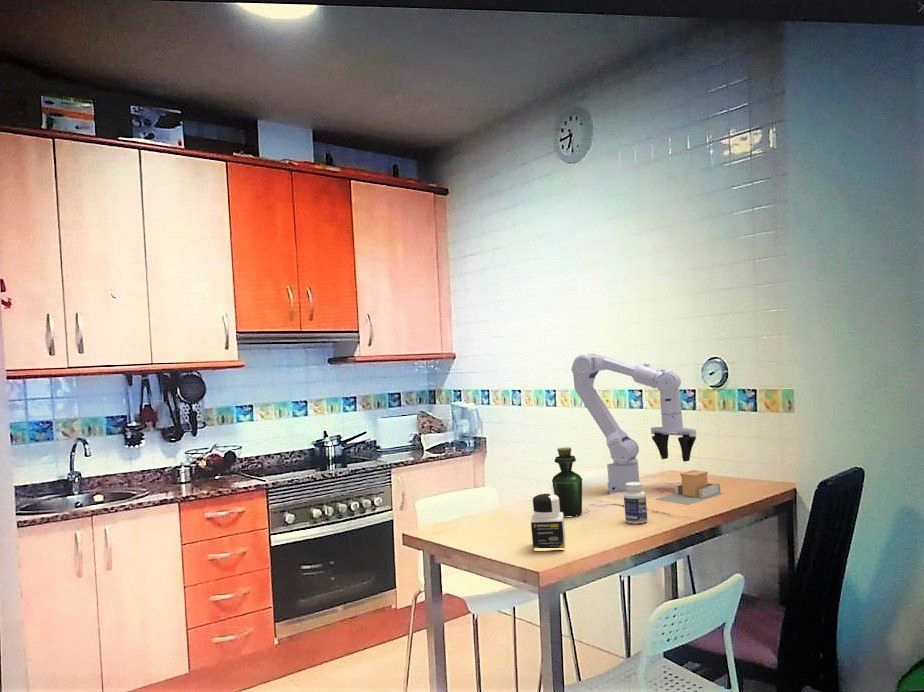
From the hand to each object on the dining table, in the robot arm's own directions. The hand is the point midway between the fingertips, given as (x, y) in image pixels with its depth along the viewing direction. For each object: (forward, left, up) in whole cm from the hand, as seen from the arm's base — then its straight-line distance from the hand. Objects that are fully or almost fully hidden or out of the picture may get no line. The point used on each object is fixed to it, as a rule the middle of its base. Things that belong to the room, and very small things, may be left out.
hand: (675, 459), depth 196 cm
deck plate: (+2, -9, -10) cm, 14 cm away
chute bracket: (+4, -7, -9) cm, 12 cm away
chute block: (+4, -7, -8) cm, 12 cm away
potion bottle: (-31, -19, -10) cm, 38 cm away
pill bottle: (-14, -29, -10) cm, 34 cm away
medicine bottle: (-35, -48, -10) cm, 60 cm away
